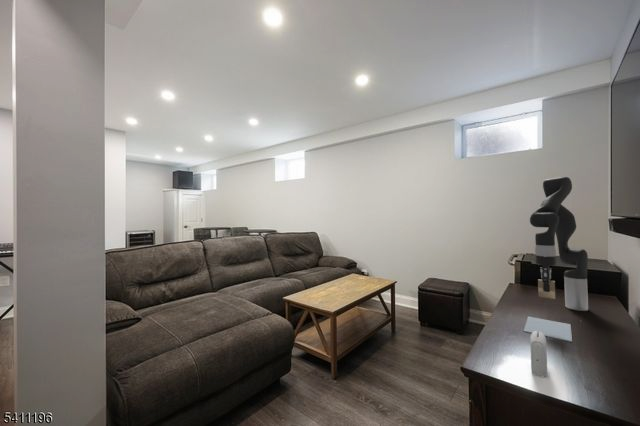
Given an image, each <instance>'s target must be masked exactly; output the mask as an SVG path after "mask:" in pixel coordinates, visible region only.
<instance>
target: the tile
mask: <svg viewBox="0 0 640 426" xmlns="http://www.w3.org/2000/svg"><path fill="white" fill-rule="evenodd" d="M546 281H548V280H546ZM537 287H538V289H537V291H538V297H539V298H544V299H551V300H552V299H553V300H556V281H555V280H550V284H549V288H550V291H549V292H545V291H543V283H542V279H537Z"/></svg>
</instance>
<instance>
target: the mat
mask: <svg viewBox="0 0 640 426" xmlns="http://www.w3.org/2000/svg"><path fill="white" fill-rule="evenodd" d="M534 331H537V332H541V333H543V334H544V336H545V338H552V339H556V340H560V341H565V342H566V341H567V342H571V343H573V338H572V326H571V324H570V323H565V322H560V321H559V322H558V321H554V320H550V319H549V320H548V319H543V318H540V317H533V316H527V319H526V323H525V325H524V329H523V332H525V333H529V334H532V333H533V332H534Z"/></svg>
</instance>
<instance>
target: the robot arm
mask: <svg viewBox="0 0 640 426" xmlns="http://www.w3.org/2000/svg"><path fill="white" fill-rule="evenodd" d="M542 188H543V191H544V192H543V193H544V194H545V197H546V198H545V199H544V200H543V201H542V202H541V204H540V206H539V208H537V209H536V210H535V211H534V212H532V214H531V215H530V218H529V223H530V225H531V226H532V227H534V228H548V229H547V230H546V231H540V232H537V233H535V241H534V242H535V246H534V247H535V249H534V255H535V257H534V258H535V261H534V262H535V264H536V265H538V266H542V267H540V270H539V271H540V275H541V276H540V277H541V280H542V283H543V291H545V292H549V291H550V288H549V284H550V281H551V279H552V268H550V267H551V266H553V267H554V266H556V265H557V252H556V251H557V250H556V246H555V245H556V242H557V247H558V248H557V249H558V255H559V256H558V257H559V260H560V261H561V263H562V264H564V265H569V266H570V265H571V266H576V268H574V269H569V270H565V271H564V272H563V279H564V280H563V281H564V304H565V305H564V306H565V307H566V308H567V309H569V310H575V311H581V312H587V311H588V310H589V294H588V262H589V261H588V260H589V257H588V256H589V255H588V252H587V251H586V250H585V249H583V248H570V247H569V240H570V239H571V237H572V236H573V234H574V233H575V231H576V229H577V223H576V218H575V215H574V214H573V213H572V212H571V211H570V210H569V209H568V208H566V207H565V206H564V205H563V202H564V201H565V200H566V198H567V197H568V196H569V195H570V193H571V191H572V189H573V183H572V179H571V178H570V177H567V176H561V177H553V178H548V179H547V178H546V179H544V181H543V183H542ZM555 238H556V241H555ZM546 280H548V281H546Z"/></svg>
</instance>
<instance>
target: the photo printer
mask: <svg viewBox="0 0 640 426" xmlns="http://www.w3.org/2000/svg"><path fill="white" fill-rule="evenodd" d="M529 340H530V341H529V344H530V345H529V346H530V369H531V373H533V375H535V374H536V376H538V377H541V376H544V377H546V376H547V373H548V354H547V351H548V350H547V337H546V336H544V334H543V333H541V332H537V331H534V332H533V333H530V336H529Z"/></svg>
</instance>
